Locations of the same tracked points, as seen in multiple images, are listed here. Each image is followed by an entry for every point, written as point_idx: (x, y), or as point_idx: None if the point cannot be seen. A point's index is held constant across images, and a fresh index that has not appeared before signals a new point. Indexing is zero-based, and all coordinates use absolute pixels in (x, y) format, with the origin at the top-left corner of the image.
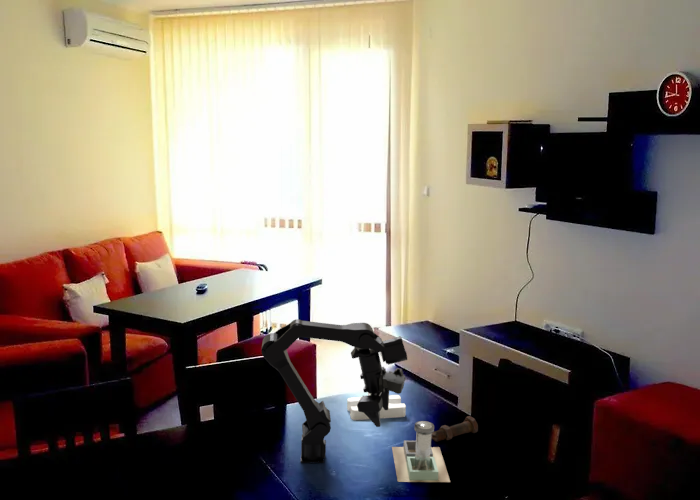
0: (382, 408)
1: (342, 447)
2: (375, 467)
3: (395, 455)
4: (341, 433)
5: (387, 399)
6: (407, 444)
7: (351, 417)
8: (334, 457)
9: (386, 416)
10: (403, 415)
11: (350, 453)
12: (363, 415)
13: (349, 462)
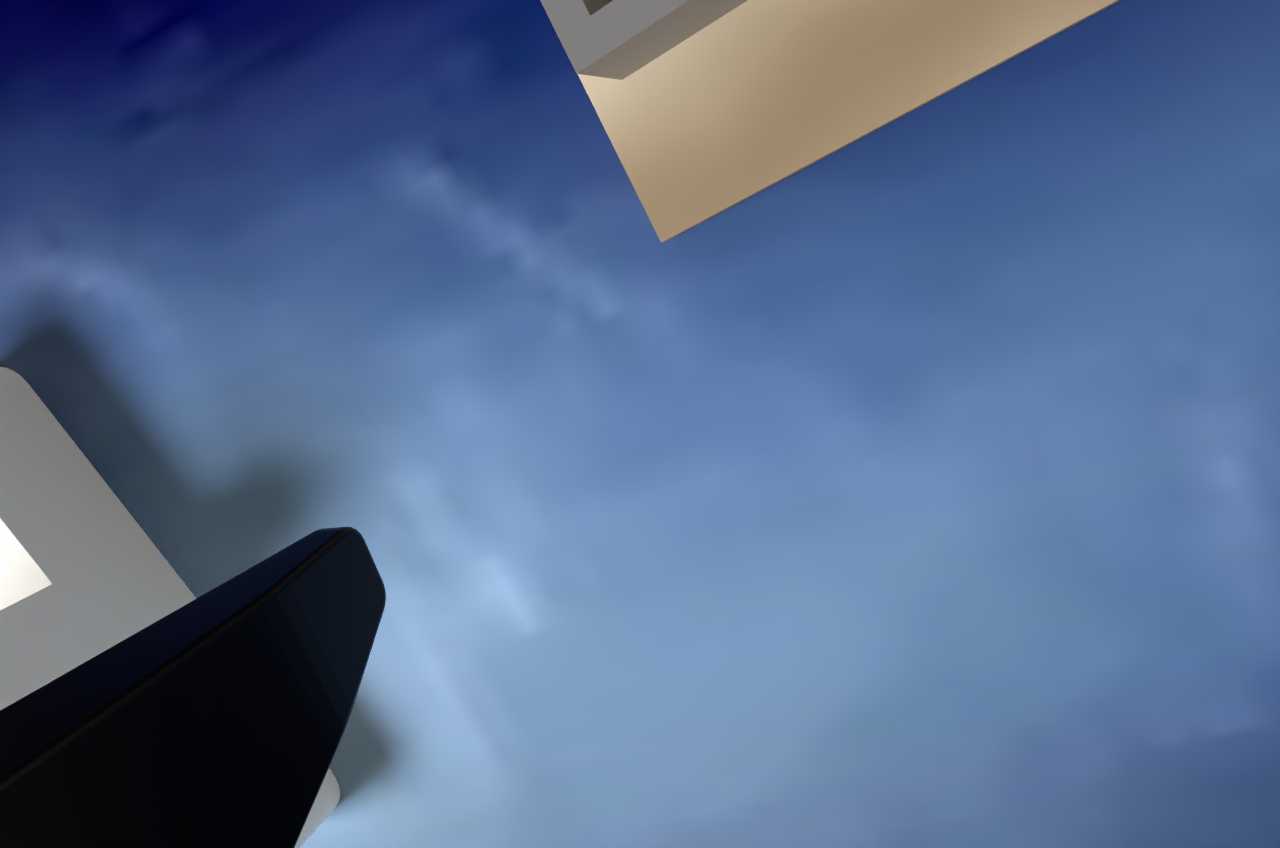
0: (68, 610)
1: (887, 774)
2: (1222, 267)
3: (858, 100)
4: (618, 838)
5: (113, 728)
6: (598, 2)
7: (324, 819)
8: (1158, 807)
9: (122, 528)
10: (8, 380)
11: (981, 665)
12: None
13: (1215, 622)
